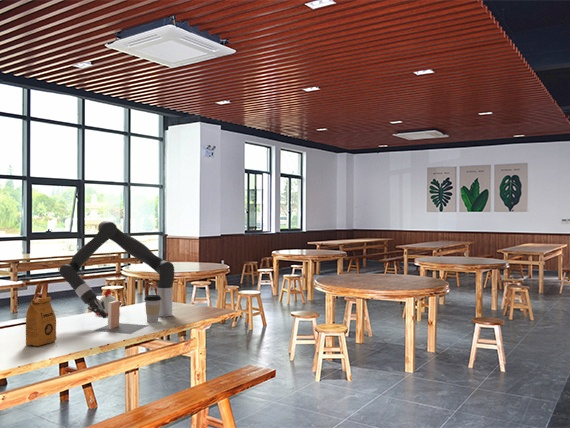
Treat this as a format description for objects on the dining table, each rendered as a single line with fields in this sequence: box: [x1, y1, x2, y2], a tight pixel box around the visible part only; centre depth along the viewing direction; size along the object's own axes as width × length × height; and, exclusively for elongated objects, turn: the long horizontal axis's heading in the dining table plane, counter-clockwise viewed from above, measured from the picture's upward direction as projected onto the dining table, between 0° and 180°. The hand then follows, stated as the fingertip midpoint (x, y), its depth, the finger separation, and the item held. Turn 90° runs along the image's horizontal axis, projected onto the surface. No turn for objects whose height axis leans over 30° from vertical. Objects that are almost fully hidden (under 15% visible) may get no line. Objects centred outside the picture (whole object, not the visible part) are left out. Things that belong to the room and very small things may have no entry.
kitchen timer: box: [95, 288, 121, 317], centre depth 314 cm, size 14×14×15 cm
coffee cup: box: [144, 294, 161, 323], centre depth 293 cm, size 9×9×15 cm
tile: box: [107, 299, 121, 329], centre depth 276 cm, size 2×8×14 cm, turn 167°
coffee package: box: [25, 296, 57, 347], centre depth 243 cm, size 10×12×22 cm
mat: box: [93, 322, 149, 335], centre depth 275 cm, size 22×20×1 cm
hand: (105, 317), depth 277 cm, fingers closed
